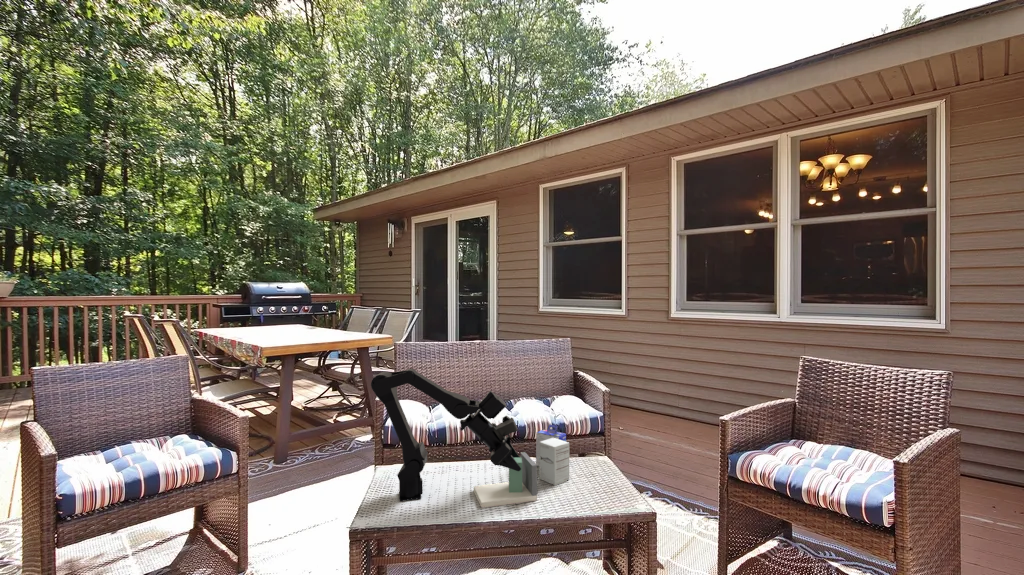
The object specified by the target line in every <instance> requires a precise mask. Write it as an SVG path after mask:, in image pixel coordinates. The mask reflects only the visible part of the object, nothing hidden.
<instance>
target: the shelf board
mask: <svg viewBox="0 0 1024 575" xmlns="http://www.w3.org/2000/svg"><path fill="white" fill-rule="evenodd" d="M520 457H521V458H522V492H511V493H509V481H506V482H497V483H489V484H482V485H480V484H479V485H474V486H473V492H474V495H475V497H476V499H477V501H478V503H479V505H480V508H482V509H483V508H491V507H492V508H493V507H497V506H506V505H511V504H513V505H514V504H521V503H527V502H535V501H538V466H537V465H536V462H535V461H534V460H533V459H532V458H531V456H529V455H528V453H527V452H524V451H523V452H520Z"/></svg>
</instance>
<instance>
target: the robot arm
mask: <svg viewBox="0 0 1024 575" xmlns="http://www.w3.org/2000/svg"><path fill="white" fill-rule="evenodd" d="M407 384H408V385H410V386H413V387H414V388H415V389H417V390H419V391H420V392H422V393H423V394H424V395H427V396H428V397H429V398H431V399H433V400H435V401H436V402H438V403H440V405H441V406H442V407H443V408H444V410H446V411H447V412H448V413H449V414H451V416H452V417H453V418H455V419H456V420H460V421H459V424H460V431H464V430H465V429H466V428H468V429H469V431H471V432H472V433H473V434H474V435H475V436H476V437H477V438H478V439H479V440H478V441H479V442H480V443H481V444H482V443H483V444H484V445H486V446H487V447H488V451H489V452H490V462H491V463H492V464H493V465H494V466H497V467H498V466H500V467H504V468H508V469H509V468H510V469H513V470H516V471H520V470H521V468H520V466H519V465H518V463H517V462H516V461H515V459H514V458H516V457H520V455H519V454H518V452H517V451H516V449H515V448H514V446H513V445H512V443H511V435H510V434H512V433H516V432H517V431H518V426H517V424H516V422H515V419H514V418H513V417H510V416H508V415H505V416H503V417H502V422H500V423H498V424H496V423H494V422H490V421H489V419H490V420H491V419H492V420H494V419H495V418H496V417H497V416H498V415H499V414H500V413H501V412H502V411H503V410H504V409H505V408H506V407H507V404H506V402H505V401H504V400H503V399H502V397H501V396H499V395H497V394H496V393H494V391H492V390H489V391H488V392H487V394H486V395H485V396H484V397H483V398H482V399H481V400H473V399H469V398H468V397H467V396H465V395H462V394H459V393H457V392H453V391H449V390H447V389H445V388H444V387H443V386H440V385H439V384H437V383H436V382H434V381H432V379H429V378H428V377H426V376H424V375H422V374H421V373H420V372H418V371H417V370H416V369H414V368H408V369H405V370H400V371H399V370H398V371H394V372H389V371H382V372H380V373H379V374H377V375H376V376H374V377H373V378H372V380H371V382H370V388H371V390H372V391H373V393H374V394H375V396H376V398H377V399H378V400H379V401H380V402H381V403H382V404H383V405H384V407H385V410H386V412H387V414H388V418H389V419H390V421H391V424H392V427H393V429H394V432H395V434H396V436H397V438H398V441H399V443H400V446H401V453H402V460H403V464H402V466H401V468H400V470H399V471H398V473H397V478H398V482H399V487H398V490H399V491H398V501H399V500H400V502H404V501H403V500H406V501H413V500H421V499H422V495H423V491H424V490H423V478H422V477H421V473H422V472H423V470H424V468H425V466H426V463H427V461H428V453H429V452H428V451H427V450H426V447H425V443H424V441H423V440H422V441H421V442H418V440H416V439H415V438H416V437H415V435H414V434H413V431H412V429H411V427H410V424H409V422H408V419H407V417H406V415H405V412H404V409H403V408H402V405H401V402H400V400H399V398H398V389H397V387H401V386H403V385H404V386H405V385H407ZM487 447H486V448H487Z"/></svg>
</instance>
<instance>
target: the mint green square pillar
mask: <svg viewBox="0 0 1024 575" xmlns="http://www.w3.org/2000/svg"><path fill="white" fill-rule="evenodd" d="M514 459H515V461H516V462H517V463H518V465H519V466H520V468H521V470H520V471H516V470H513V469H510V468H508V482H509V493H511V492H522V458H521V456H519V457H516V458H514Z"/></svg>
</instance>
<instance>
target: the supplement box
mask: <svg viewBox="0 0 1024 575" xmlns="http://www.w3.org/2000/svg"><path fill="white" fill-rule="evenodd" d="M539 480H541V481H544V482H546V483H548V484H551V485H553V486H557V485H560V484H563V483H566V482H567V480H568V481H570V442H569V441H567V440H566V441H563V440H559V439H556V438H550V439H547V440H544V441H541V442H540V467H539ZM565 481H566V482H565ZM562 482H563V483H562Z"/></svg>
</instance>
